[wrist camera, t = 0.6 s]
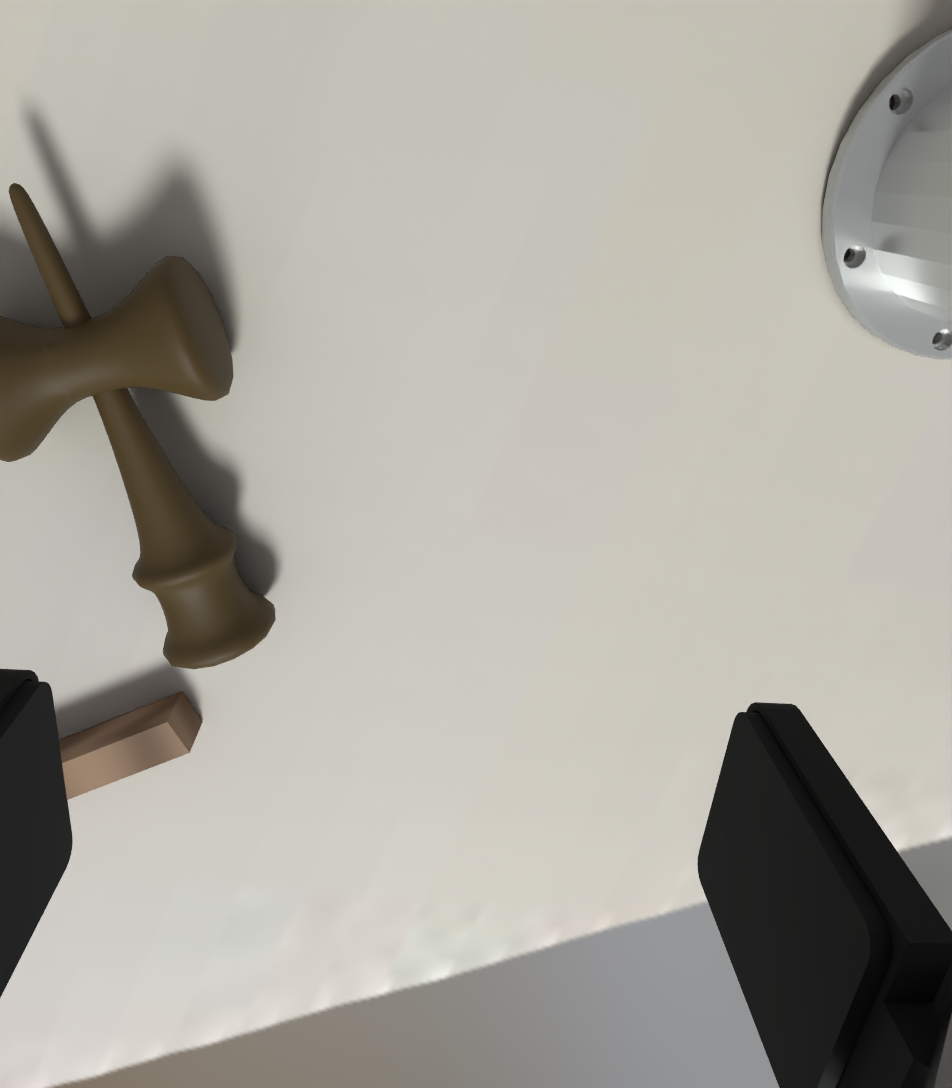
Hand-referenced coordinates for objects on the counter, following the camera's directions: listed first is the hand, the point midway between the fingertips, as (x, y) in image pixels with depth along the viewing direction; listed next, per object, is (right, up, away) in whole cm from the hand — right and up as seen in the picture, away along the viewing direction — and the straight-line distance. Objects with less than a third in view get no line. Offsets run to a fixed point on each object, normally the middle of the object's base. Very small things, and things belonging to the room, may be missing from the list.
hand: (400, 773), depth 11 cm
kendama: (-13, +8, +25) cm, 29 cm away
